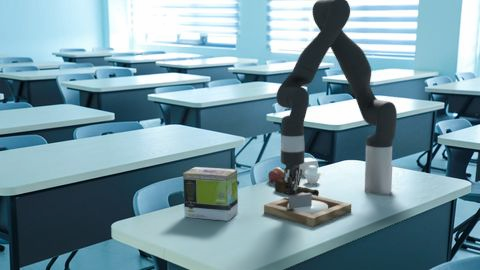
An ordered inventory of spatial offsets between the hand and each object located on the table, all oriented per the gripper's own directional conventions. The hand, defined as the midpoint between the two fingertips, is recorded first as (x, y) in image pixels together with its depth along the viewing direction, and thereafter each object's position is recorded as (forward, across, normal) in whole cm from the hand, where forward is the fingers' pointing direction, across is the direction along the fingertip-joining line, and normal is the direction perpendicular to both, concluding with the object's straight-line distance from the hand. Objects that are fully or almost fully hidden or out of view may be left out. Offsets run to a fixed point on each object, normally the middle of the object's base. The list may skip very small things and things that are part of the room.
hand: (292, 200), depth 199 cm
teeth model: (+5, +36, +16) cm, 39 cm away
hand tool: (+5, +18, +6) cm, 20 cm away
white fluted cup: (+5, +38, +5) cm, 38 cm away
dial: (+4, +1, -5) cm, 6 cm away
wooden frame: (+4, +1, -5) cm, 6 cm away
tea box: (+4, -13, +23) cm, 27 cm away
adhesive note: (+5, +50, +12) cm, 52 cm away
